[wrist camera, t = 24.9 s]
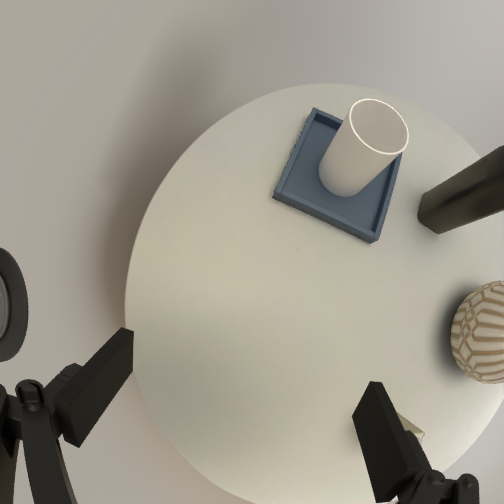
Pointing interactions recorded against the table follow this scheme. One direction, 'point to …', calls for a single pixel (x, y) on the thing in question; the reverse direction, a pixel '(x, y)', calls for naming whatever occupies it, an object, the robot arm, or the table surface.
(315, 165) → the cup tray
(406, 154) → the table surface
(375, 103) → the cup
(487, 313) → the vase
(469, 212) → the wine bottle
